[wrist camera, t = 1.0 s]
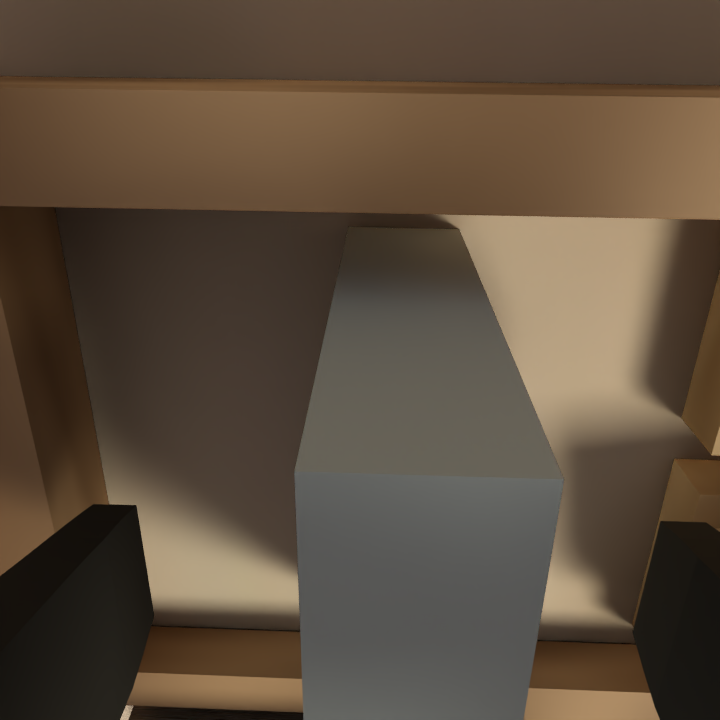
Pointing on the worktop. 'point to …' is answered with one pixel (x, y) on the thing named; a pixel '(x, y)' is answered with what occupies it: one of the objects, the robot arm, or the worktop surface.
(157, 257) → the worktop surface
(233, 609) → the worktop surface
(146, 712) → the holder
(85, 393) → the wooden tray
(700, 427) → the offcut
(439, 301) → the grey flat block
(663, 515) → the offcut
